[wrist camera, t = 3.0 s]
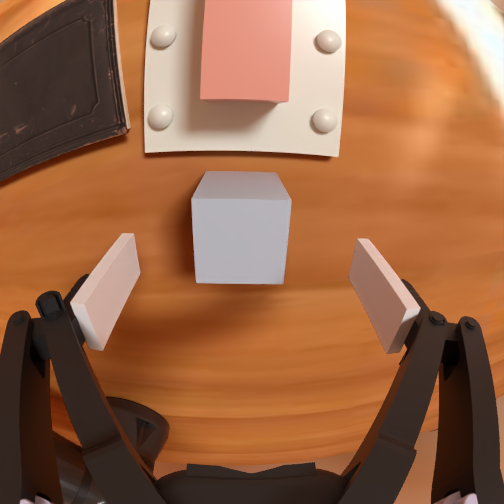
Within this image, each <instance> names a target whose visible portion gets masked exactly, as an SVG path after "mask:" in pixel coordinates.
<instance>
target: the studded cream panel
mask: <svg viewBox="0 0 504 504" xmlns="http://www.w3.org/2000/svg"><path fill="white" fill-rule="evenodd" d="M345 41H346V11H345V0H150V9H149V18H148V28H147V41H146V56H145V80H144V136H145V153H149V152H168V151H206V150H228V151H266V152H285V153H300V154H312V155H324V156H334V157H338V155H339V145H340V134H341V122H342V109H343V94H344V75H345Z"/></svg>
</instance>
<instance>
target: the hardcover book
mask: <svg viewBox="0 0 504 504" xmlns="http://www.w3.org/2000/svg"><path fill="white" fill-rule="evenodd" d="M130 128H131V126H130V120H129V114H128V108H127V102H126V95H125V88H124V80H123V73H122V64H121V55H120V44H119V32H118V18H117V0H66V1H64V2H62V3H60V4H59V5H57V6H55V7H53V8H52V9H50V10H48V11H46V12H45V13H43V14H42V15H40V16H38V17H37V18H35V19H34V20H32V21H31V22H29V23H28V24H26V25H25V26H23V27H22V28H20V29H19V30H17V31H16V32H15V33H13V34H12V35H10V36H9V37H8V38H6V39H5V40H4V41H3V42H1V43H0V181H2V180H4V179H6V178H9V177H11V176H13V175H15V174H17V173H19V172H21V171H23V170H26V169H28V168H30V167H32V166H35V165H37V164H39V163H42V162H44V161H47V160H49V159H52V158H54V157H57V156H59V155H62V154H65V153H67V152H70V151H73V150H76V149H78V148H81V147H84V146H87V145H90V144H93V143H96V142H99V141H102V140H106V139H109V138H112V137H116V136H119V135H123V134H126V133H128V129H130Z"/></svg>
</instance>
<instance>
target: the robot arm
mask: <svg viewBox="0 0 504 504" xmlns="http://www.w3.org/2000/svg"><path fill="white" fill-rule="evenodd" d="M139 275H140V268H139V262H138V257H137V251H136V244H135V238H134V233H122V234H121V236H120V237H119V238H118V239H117V240H116V242H115V243H114V244H113V245H112V247H111V248H110V249H109V250H108V252H107V253H106V254H105V256H104V257H103V258H102V259H101V261H100V262H99V263H98V265H97V266H96V267H95V269H94V270H93V271H92V273H91V274H85V275H84V276H83V277H81V278H80V279H79V280H78V281H77V282H76V284H75V285H74V286H73V288H72V289H71V291H70V292H69V293H68V294H67V296H66V297H65V299H64V300H62V297H61V294H60V293H59V292H57V291H48V292H45V293H43V294H42V295H40V296H39V297H38V298H37V300H36V304H35V305H36V307H37V309H38V312H39V314H40V316H41V318H33V319H31V317H30V315H29V313H28V312H27V311H24V310H23V311H18V312H15V313H14V314H13V315H12V316H11V317H10V318H9V320H8V323H7V327H6V331H5V335H4V340H3V344H2V349H1V354H0V504H393V503H394V501H395V500H396V498H397V496H398V494H399V492H400V490H401V488H402V486H403V483H404V482H405V480H406V477H407V475H408V473H409V471H410V469H411V466H412V464H413V462H414V459H415V456H416V450H415V449H414V446H415V443H416V440H417V438H418V435H419V432H420V430H421V427H422V424H423V421H424V418H425V415H426V412H427V409H428V406H429V403H430V400H431V396H432V393H433V389H434V386H435V382H436V378H437V374H438V370H439V424H438V440H437V452H436V461H435V469H434V476H433V483H432V491H431V492H432V493H431V504H504V483H503V478H502V474H501V470H500V442H499V426H498V415H497V407H496V398H495V391H494V385H493V379H492V374H491V368H490V364H489V359H488V354H487V350H486V346H485V342H484V338H483V334H482V330H481V327H480V325H479V323H478V322H477V321H476V320H475V319H473V318H471V317H467V316H464V317H462V318H461V319H460V320H459V322H458V324H454V323H448V322H447V320H446V318H445V317H444V316H443V315H442V314H440V313H438V312H435V311H430V310H429V308H428V307H427V306H426V304H425V303H424V301H423V300H422V299H421V297H419V295H418V293H417V292H415V289H414V288H413V287H412V285H411V284H410V283H408V282H407V281H406V280H404V279H399V277H398V276H397V275H396V273H395V272H394V271H393V269H392V268H391V267H390V265H389V264H388V263H387V262H386V260H385V259H384V258H383V256H382V255H381V254H380V253H379V251H378V250H377V249H376V248H375V246H374V245H373V244H372V243H371V241H370V240H369V239H359V238H357V242H356V246H355V251H354V255H353V260H352V264H351V268H350V272H349V276H348V278H349V280H350V282H351V283H352V285H353V287H354V289H355V291H356V293H357V295H358V297H359V299H360V301H361V303H362V305H363V307H364V309H365V311H366V313H367V315H368V317H369V319H370V321H371V323H372V325H373V327H374V329H375V331H376V333H377V335H378V337H379V339H380V341H381V344H382V346H383V348H384V350H385V352H386V354H391V353H398V352H400V350H401V349H402V347H403V345H404V344H405V346H406V347H407V351H406V352H405V354H404V356H403V358H402V360H401V361H400V363H399V365H400V367H399V369H398V372H397V374H396V376H395V379H394V381H393V383H392V385H391V388H390V390H389V392H388V394H387V396H386V398H385V401H384V403H383V405H382V407H381V409H380V411H379V413H378V415H377V417H376V419H375V420H374V422H373V424H372V426H371V428H370V430H369V432H368V433H367V435H366V437H365V439H364V441H363V442H362V444H361V446H360V447H359V449H358V451H357V453H356V454H355V456H354V457H353V459H352V461H351V462H350V464H349V465H348V466H347V467H346V469H345V470H344V471H343V473H342V474H341V475H337V474H335V473H333V472H329V471H326V470H322V469H316V467H315V463H304V464H293V465H283V466H280V467H276V468H273V469H269V470H265V471H261V472H257V473H246V472H241V471H237V470H233V469H229V468H225V467H221V466H212V465H198V464H187V470H181V471H177V472H173V473H171V474H168V475H166V476H163V477H161V478H160V479H159V480H157V479H156V478H155V476H154V475H153V470H154V464H155V460H156V459H157V457H158V455H159V453H160V452H161V450H162V448H163V446H164V445H165V443H166V441H167V439H168V435H169V424H168V423H167V421H166V420H165V419H164V418H163V417H162V416H160V415H159V414H158V413H156V412H154V411H153V410H151V409H149V408H147V407H145V406H142V405H140V404H137V403H134V402H131V401H128V400H124V399H119V398H112V397H105V395H104V393H103V391H102V389H101V387H100V385H99V383H98V381H97V378H96V376H95V374H94V372H93V370H92V367H91V365H90V363H89V360H88V358H87V356H86V353H85V351H84V349H83V347H82V346H83V344H84V342H85V340H86V343H87V345H88V347H89V349H94V350H100V351H103V350H104V347H105V345H106V343H107V341H108V338H109V336H110V334H111V332H112V330H113V328H114V325H115V323H116V321H117V319H118V317H119V315H120V313H121V311H122V309H123V307H124V305H125V303H126V301H127V299H128V297H129V295H130V293H131V291H132V289H133V287H134V285H135V283H136V281H137V279H138V277H139ZM50 359H51V361H52V365H53V369H54V372H55V376H56V379H57V382H58V385H59V388H60V392H61V395H62V398H63V400H64V403H65V406H66V409H67V411H68V414H69V417H70V419H71V422H72V424H73V427H74V429H75V432H76V434H77V436H78V439H79V441H80V443H81V445H82V447H81V446H79V445H77V444H75V443H73V442H71V441H70V440H68V439H66V438H64V437H63V436H61V435H59V434H58V433H56V432H54V431H53V430H52V422H51V407H50Z"/></svg>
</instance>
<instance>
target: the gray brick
mask: <svg viewBox="0 0 504 504" xmlns="http://www.w3.org/2000/svg"><path fill="white" fill-rule="evenodd" d="M191 202H192V226H193V244H194V260H195V274H196V283H222V284H283V281H284V272H285V263H286V253H287V244H288V234H289V223H290V213H291V202H292V200H291V199H290V197H289V195H288V193H287V191H286V189H285V188H284V186H283V184H282V182H281V181H280V179H279V177H278V175H277V173H272V172H239V171H206V172H205V174H204V176H203V178H202V180H201V182H200V183H199V185H198V187H197V189H196V191H195V193H194V195H193V197H192V198H191Z"/></svg>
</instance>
